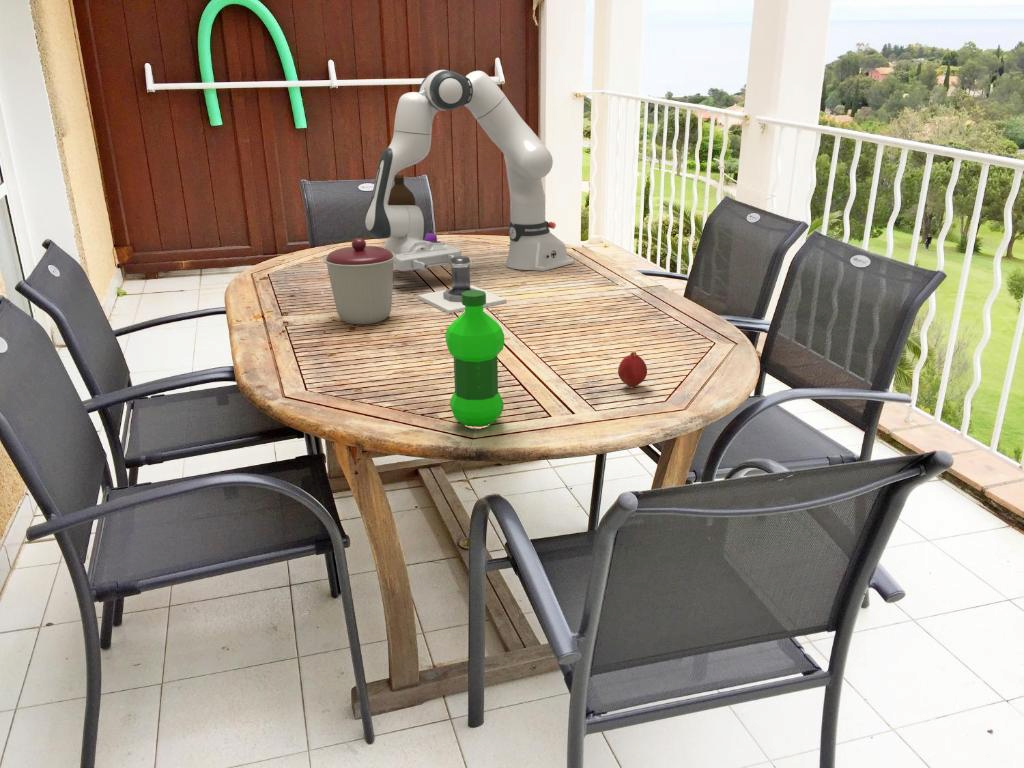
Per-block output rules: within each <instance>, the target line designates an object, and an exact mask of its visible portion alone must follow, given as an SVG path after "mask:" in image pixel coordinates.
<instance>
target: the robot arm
mask: <svg viewBox="0 0 1024 768" xmlns="http://www.w3.org/2000/svg"><path fill="white" fill-rule="evenodd" d="M417 88H418V89H417V90H416V91H411V92H409V91H408V92H406V93H403V94H402V95H401V96H400V97H399V99H398V103H397V107H396V111H395V116H394V117H395V118H394V126H393V134H392V139H391V141H390V143H389V145H388V147H387V148H385V149H384V150H383V151H382V153H381V154H380V158H379V162H378V166H377V170H376V175H375V179H374V184H373V189H372V193H371V198H370V202H369V206H368V208H367V211H366V214H365V219H364V224H365V225H364V227H365V228H366V231H367V232H368V233H369V234H370V236H372V237H373V238H374V239H376V240H384V239H386V241H385V244H384V248H385V249H388V250H389V251H391V252H393V253H395V255H396V258H395V259H394V262H393V268H395V269H396V270H398V271H400V272H409V271H417V272H418V271H424V270H428V269H429V268H433V267H438V266H445V265H450V266H451V258H452V257H457V256H462V252H461V250H460V249H459V248H457V247H455V246H452V245H450V244H445V243H446V242H444V241H442V240H441V241H440V240H437V241H424V239H425V237H426V234H427V233H428V219H427V216H426V214H425V212H424V211H423V209H422V208H421V207H420V206H418V205H415V206H414V205H388V200H389V195H390V191H391V189H392V187H393V182H394V178H395V175H396V174H397V173H400V171H402V170H404V169H407V168H409V167H411V166H414V165H417V164H418V163H420V162H422V161H423V160H424V159H425V158H426V157H427V156H428V154H429V153H430V150H431V147H432V146H431V145H432V132H433V122H434V119H435V116H436V114H437V113H438V112H441V111H454V110H456V109H459V108H460V107H463V106H464V107H465V108H467V109H468V110H469V111H470V113H471V114H472V116H473V117H474V118H475V120H476V121H477V122H478V124H479V125H480V127H481V128H482V129H483V131H484V132H485V134H486V135H487V136H488V137H489V139H490V140H491V141H492V142H493V143H494V145H496V147H497V148H498V149H499V150H500V151H501V152H502V153H503V156H504V157H503V158H504V161H505V162H504V163H505V169H506V177H507V184H508V190H509V199H510V200H509V201H510V202H509V203H510V207H509V208H510V209H509V210H510V211H509V212H510V213H509V214H510V220H509V222H508V226H509V227H508V234H509V235H508V236H509V248H508V255H507V260H506V263H505V266H506V267H508V268H510V269H513V270H514V269H515V270H523V271H540V272H541V271H542V272H545V271H549V270H552V269H557V268H560V267H563V266H568V265H571V264H575V260H574V259H573V257H571V256H568V252H567V247H566V244H565V242H564V241H562V240H561V239H560V238H558V237H557V236H555V235H554V234H553V233H552V232H550V231H551V230H550V229H552V230H555V229H556V227H557V224H556V223H555V222H554V221H547V220H546V194H545V191H544V187H543V181H542V179H543V178H545V177H546V176H548V174H550V172H551V171H552V169H553V162H554V160H553V155H552V154H551V152H550V151H549V149H548V147H546V146H545V144H544V143H543V142H542V140H541V139H540V138H539V137H538V135H537V134H536V133H535V132H534V131H533V130H532V128H531V127H530V126H529V124H527V123H526V121H524V119H523V118H522V117H521V115H520V114H519V113H518V111H517V110H516V108H515V107H514V105H512V103H511V102H510V101H509V99H508V97H507V96H506V95H505V93H504V92H503V91H502V90H501V88H500V87H499V86H498V85H497V83H496V82H495V81H494V80H493V79H492V78H491V76H489V75H488V74H487V73H486V72H484V71H483V70H474V71H471V72H469V73H468V74H466V76H464V75H462V74H460V73H458V72H456V71H453V70H449V69H448V70H447V69H439V70H435V71H432V72H430V73H428V74H427V75H426V76H425V77H424V79H423V80H422V82H421V84H420V85H419V86H418V87H417Z"/></svg>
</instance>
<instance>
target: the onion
mask: <svg viewBox="0 0 1024 768" xmlns="http://www.w3.org/2000/svg"><path fill="white" fill-rule="evenodd" d="M617 370H618V371H617V374H618V377H619V378H620V381H621V382H622V383H624V385H626V386H627V387H628V386H629V387H635V388H636V387H638V386H639V385H640V384H641V383H643V382H644V380H645V379H646V378H647V376H648V375H647V374H648V368H647V365H646V362H645V361H644V360H643V358H642V357H641V356H639V355H638V354H637V351H634V350H633V351H631V352H630V354H628V355H627V356H625V357H624V358H623V359H622V360H621V361H620V363H619V365H618V369H617ZM629 387H628V388H629Z"/></svg>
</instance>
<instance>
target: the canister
mask: <svg viewBox="0 0 1024 768" xmlns="http://www.w3.org/2000/svg"><path fill="white" fill-rule="evenodd" d="M395 258H396V255H395V253H393V252H391V251H389V250H388V249H385V247H382V246H381V247H380V246H375V245H372V246H371V245H367V242H366V240H365V239H363V238H360V237H359V238H355V239H353V240H352V241H351V246H347V247H342V248H338V249H335V250H333V251H331V252H329V253H328V254H327V255H325V256H324V257H323V262H324V263H325V264H326V267H327V272H328V276H329V281H330V287H331V290H332V291H331V293H332V296H333V300H334V304H335V308H336V312H337V315H338V316H339V318H340V319H341V320H342V321H343V322H345V323H347V324H351V325H352V324H353V325H371V324H376V323H379V322H383V321H384V320H386V319H387V318H388V317H389V316H390V314H391V311H392V300H393V287H394V286H393V285H394V283H393V282H394V281H393V280H394V264H393V262H394V259H395Z"/></svg>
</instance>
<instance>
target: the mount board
mask: <svg viewBox="0 0 1024 768" xmlns="http://www.w3.org/2000/svg"><path fill="white" fill-rule="evenodd" d="M470 290H480V291H484V292H485V293H486V304H484V305H483V308H487V307H486V306H488V307H493V306H497V305H502V304H503V305H504V304H507V298H504V297H501V296H499V295H497V294H494V293H492V292H489V291H487V290H486V289H485V290H484V289H482V288H479V287H477V286H476V285H473V284H472V285H470ZM417 299H418V300H419V301H422V302H424V303H426V304H427V305H430V306H432V307H434V306H435V307H434V308H436V307H437V308H436V309H438V308H439V309H438V310H440V309H441V310H440V311H442V310H443V311H442V312H444V311H445V312H444V313H446V312H447V313H446V314H448V313H452V314H455V313H454V312H458V313H460V312H459V311H463V312H465V311H464V310H465V305H463V304H462V297H461V296H458V295H452V288H447V289H445V290H439V291H434V292H429V293H423V294H418V295H417ZM492 305H493V306H492Z"/></svg>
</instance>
